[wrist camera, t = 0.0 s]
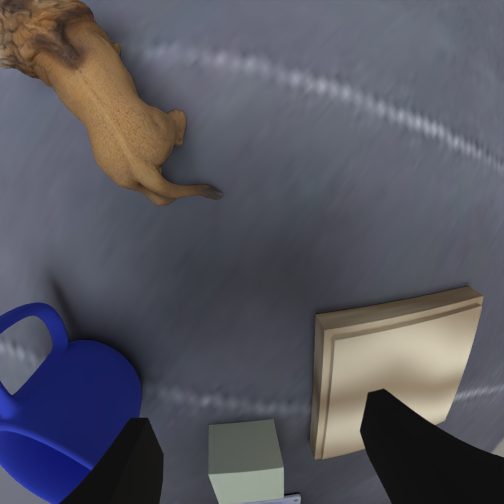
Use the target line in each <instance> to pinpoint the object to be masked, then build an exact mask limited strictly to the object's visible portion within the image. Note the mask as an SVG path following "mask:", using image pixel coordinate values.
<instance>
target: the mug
mask: <svg viewBox="0 0 504 504" xmlns="http://www.w3.org/2000/svg"><path fill="white" fill-rule="evenodd" d="M33 315H34V316H37V317H39V318H40V319H41V320H43V322H44V323H45V324H46V326H47V327H48V329H49V332H50V334H51V337H52V341H53V348H52V351H51V353H50V354H49V355H48V357H47V358H46V359H45V361H44V362H43V363H42V364H41V365H40V367H39V368H38V369H37V370H36V371H35V372H34V374H33V375H32V376H31V377H30V378H29V379H28V380H27V382H26V383H25V384H24V385H23V386H22V387H21V388H20V389H19V390H18V391H17V392H16V393H15V394H13V395H11V394H10V393H9V392H8V391H7V390H6V389H5V387H4V386H3V384H2V383H1V382H0V413H1V414H0V465H1V466H2V467H3V468H4V469H5V470H6V471H7V472H8V473H9V474H10V475H11V476H12V477H13V478H14V479H15V480H16V481H17V482H19V483H20V484H21V485H23V486H24V487H25V488H27V489H28V490H29V491H31V492H32V493H34V494H35V495H37V496H39V497H40V498H42V499H44V500H46V501H48V502H49V503H51V504H59V503H60V502H61V501H62V500H63V499H64V498H66V497H67V496H68V495H69V494H70V493H71V492H72V491H73V490H74V489H75V488H76V487H77V486H78V485H79V484H80V483H81V481H82V480H83V479H84V478H85V477H86V476H87V474H88V473H89V472H90V471H91V470H92V469H93V468H94V466H95V465H96V464H97V463H98V461H99V460H100V459H101V457H102V456H103V455H104V453H105V452H106V451H107V450H108V448H109V447H110V445H111V444H112V443H113V441H114V440H115V438H116V437H117V436H118V434H119V433H120V431H121V430H122V429H123V427H124V426H125V424H126V423H127V421H128V420H129V419H130V418H139V415H140V408H141V400H142V390H141V384H140V380H139V377H138V375H137V373H136V371H135V369H134V368H133V366H132V365H131V364H130V362H129V361H128V360H127V359H126V358H125V357H124V356H123V355H122V354H120V353H119V352H118V351H116V350H115V349H113V348H111V347H110V346H108V345H105V344H103V343H100V342H97V341H93V340H75V341H72V342H69V343H68V335H67V331H66V328H65V326H64V323H63V321H62V319H61V318H60V316H59V314H58V313H57V312H56V310H55V309H54V308H53V307H51V306H49V305H48V304H45V303H31V304H26V305H23V306H20V307H17V308H15V309H13V310H11V311H9V312H7V313H5V314H3V315H1V316H0V334H1V333H2V332H3V331H4V330H6V329H7V328H8V327H10V326H11V325H13V324H14V323H16V322H18V321H19V320H21V319H23V318H25V317H28V316H33Z"/></svg>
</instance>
